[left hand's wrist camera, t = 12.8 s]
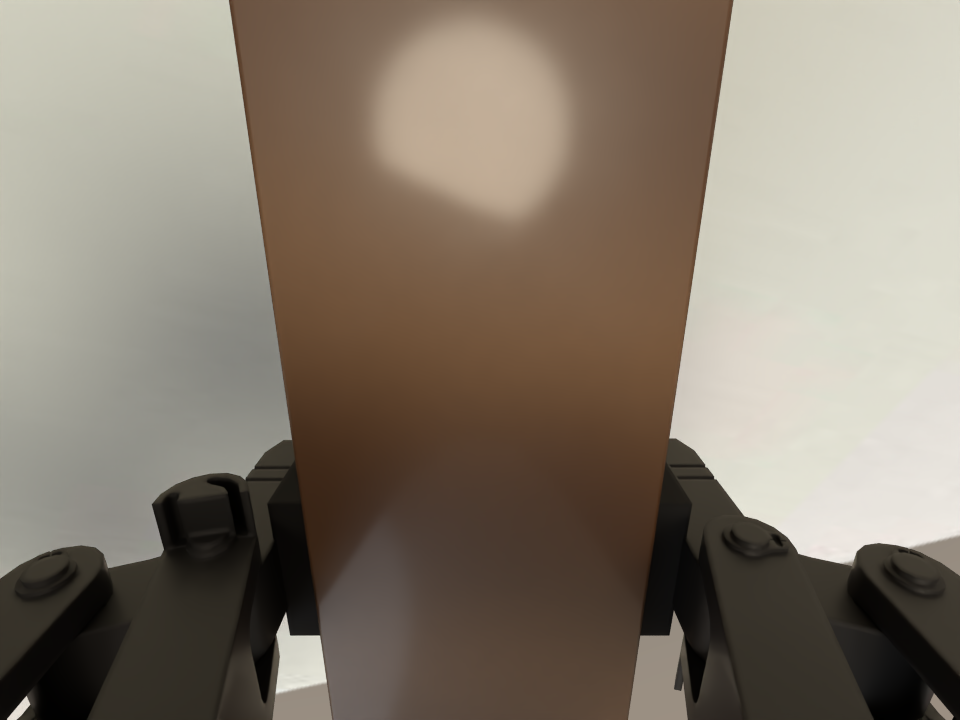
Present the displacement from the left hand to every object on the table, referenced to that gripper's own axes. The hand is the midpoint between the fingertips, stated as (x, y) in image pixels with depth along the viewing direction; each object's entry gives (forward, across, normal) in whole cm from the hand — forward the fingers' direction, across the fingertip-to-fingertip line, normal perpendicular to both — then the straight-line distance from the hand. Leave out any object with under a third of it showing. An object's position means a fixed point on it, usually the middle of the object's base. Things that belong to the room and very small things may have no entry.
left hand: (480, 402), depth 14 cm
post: (+1, 0, -26) cm, 26 cm away
